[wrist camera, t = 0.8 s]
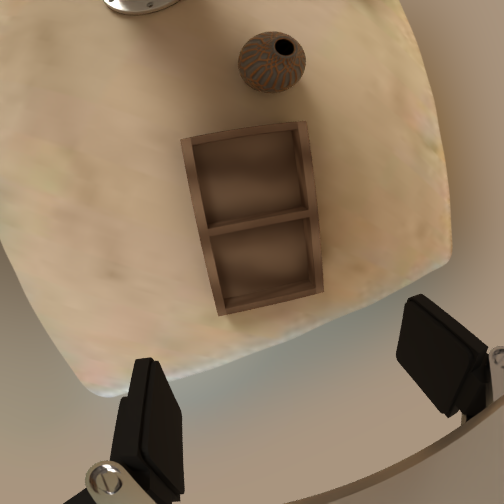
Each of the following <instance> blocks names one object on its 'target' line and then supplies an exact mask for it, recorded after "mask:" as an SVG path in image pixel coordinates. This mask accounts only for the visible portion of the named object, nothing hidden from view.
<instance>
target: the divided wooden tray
mask: <svg viewBox="0 0 504 504" xmlns="http://www.w3.org/2000/svg"><path fill="white" fill-rule="evenodd" d="M181 146H182V152H183V157H184V162H185V168H186V173H187V178H188V183H189V188H190V193H191V198H192V203H193V208H194V213H195V218H196V223H197V227H198V232H199V236H200V241H201V245H202V250H203V254H204V259H205V263H206V267H207V272H208V276H209V280H210V284H211V288H212V293H213V297H214V301H215V305H216V309H217V313H218V316H223V315H227V314H232V313H237V312H241V311H246V310H251V309H255V308H259V307H264V306H268V305H273V304H277V303H281V302H285V301H289V300H294V299H298V298H302V297H306V296H310V295H314V294H317V293H321V292H324V286H323V269H322V255H321V242H320V230H319V219H318V209H317V199H316V190H315V181H314V173H313V165H312V157H311V150H310V143H309V136H308V129H307V123H306V121H300V122H289V123H280V124H271V125H263V126H255V127H248V128H241V129H235V130H228V131H222V132H217V133H211V134H206V135H200V136H195V137H190V138H186V139H181Z"/></svg>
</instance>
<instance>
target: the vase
mask: <svg viewBox="0 0 504 504" xmlns="http://www.w3.org/2000/svg"><path fill="white" fill-rule="evenodd" d="M305 65H306V57H305V53H304V50H303V48H302V47H301V45H300V44H299V43H298V42H297V41H296V40H295V39H294V38H292V37H291V36H289V35H287V34H284V33H281V32H265V33H261V34H258V35H256V36H254V37H253V38H251V39H250V40H249V41H248V42H247V43H246V44H245V45H244V46H243V48H242V50H241V52H240V55H239V60H238V67H239V71H240V74H241V76H242V78H243V79H244V81H245V82H246V83H247V84H248V85H249V86H251V87H252V88H254V89H256V90H258V91H261V92H265V93H278V92H282V91H284V90H287V89H289V88H291V87H292V86H294V85H295V84H296V83H297V82H298V81H299V80H300V78H301V77H302V75H303V73H304V70H305Z"/></svg>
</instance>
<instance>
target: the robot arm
mask: <svg viewBox="0 0 504 504" xmlns="http://www.w3.org/2000/svg"><path fill="white" fill-rule="evenodd" d="M103 1H104V2H105V3H106V5H107V6H108V7H109V8H111V9H112V10H114V11H116V12H119V13H123V14H132V15H137V14H146V13H151V12H155V11H158V10H161V9H164V8H166V7H168V6H171V5H173V4H174V3H176V2H178V1H179V0H103ZM487 349H488V346H486V345H485V344H484V343H483V342H482V341H481V340H479V339H478V338H477V337H476V336H475V335H473V334H472V333H471V332H470V331H468V330H467V329H466V328H465V327H464V326H463V325H461V324H460V323H459V322H458V321H456V320H455V319H454V318H452V317H451V316H450V315H449V314H448V313H446V312H445V311H444V310H442V309H441V308H440V307H439V306H437V305H436V304H435V303H434V302H432V301H431V300H430V299H428V298H427V297H426V296H424V295H423V294H419V295H416V296H413V297H410V298H408V300H407V303H406V304H405V306H404V313H403V319H402V325H401V330H400V336H399V341H398V346H397V351H396V358H397V361H398V362H399V363H400V364H401V366H402V367H403V368H404V369H405V370H406V371H407V373H408V374H409V375H410V376H411V377H412V378H413V380H414V381H415V382H416V383H417V384H418V386H419V387H420V388H421V389H422V391H423V392H424V393H425V394H426V396H427V397H428V398H429V399H430V400H431V402H432V403H433V404H434V405H435V406H436V408H437V409H438V410H439V411H440V412H441V413H444V414H445V415H446V416H447V417H448V418H449V417H451V416H452V415H454V414H455V413H457V412H458V411H459V410H460V411H461V412H462V418H461V426H460V427H459V428H457V429H455V430H454V431H452V432H451V433H449V434H448V435H446V436H445V437H443V438H441V439H440V440H438V441H436V442H435V443H433V444H432V445H430V446H428V447H426V448H424V449H423V450H421V451H419V452H417V453H415V454H414V455H412V456H410V457H408V458H406V459H404V460H402V461H400V462H398V463H396V464H394V465H392V466H390V467H388V468H386V469H383V470H381V471H379V472H377V473H374V474H372V475H370V476H367V477H365V478H362V479H360V480H357V481H355V482H352V483H350V484H347V485H344V486H342V487H339V488H336V489H333V490H330V491H327V492H324V493H321V494H318V495H314V496H311V497H307V498H304V499H301V500H296V501H293V502H289V503H284V504H504V347H503V346H498V347H495V348H493V349H492V350H491V351H490V353H489V354H487V353H486V352H487ZM85 485H86V488H85V489H84V490H82V491H81V492H80V493H78V494H77V495H75V496H74V497H72V498H71V499H69V500H68V501H66V502H65V503H63V504H172V502H176V501H180V494H184V491H185V490H184V489H185V488H184V471H183V442H182V414H181V410H180V407H179V405H178V403H177V401H176V399H175V397H174V395H173V393H172V390H171V388H170V386H169V384H168V381H167V379H166V377H165V375H164V372H163V370H162V368H161V365H160V363H159V361H154V360H153V359H152V358H151V357H150V358H142V359H136V360H135V363H134V368H133V373H132V377H131V382H130V387H129V392H128V396H127V397H122V399H121V401H120V405H119V410H118V415H117V420H116V426H115V431H114V437H113V443H112V449H111V456H110V461H101V462H98V463H96V464H94V465H93V466H92V467H91V468H90V469H89V470H88V472H87V473H86V477H85Z"/></svg>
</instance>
